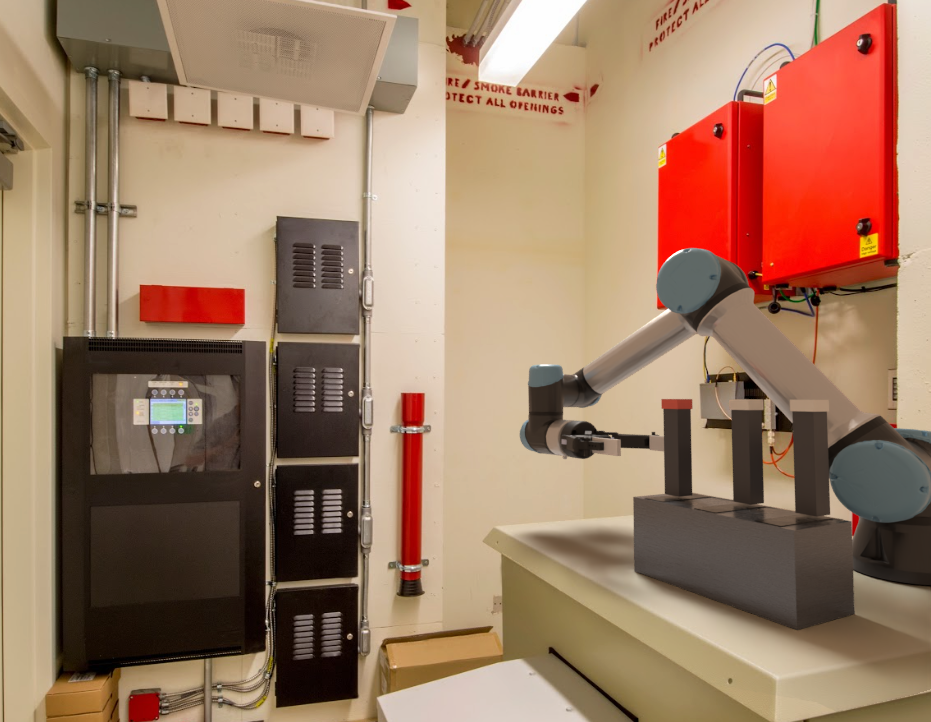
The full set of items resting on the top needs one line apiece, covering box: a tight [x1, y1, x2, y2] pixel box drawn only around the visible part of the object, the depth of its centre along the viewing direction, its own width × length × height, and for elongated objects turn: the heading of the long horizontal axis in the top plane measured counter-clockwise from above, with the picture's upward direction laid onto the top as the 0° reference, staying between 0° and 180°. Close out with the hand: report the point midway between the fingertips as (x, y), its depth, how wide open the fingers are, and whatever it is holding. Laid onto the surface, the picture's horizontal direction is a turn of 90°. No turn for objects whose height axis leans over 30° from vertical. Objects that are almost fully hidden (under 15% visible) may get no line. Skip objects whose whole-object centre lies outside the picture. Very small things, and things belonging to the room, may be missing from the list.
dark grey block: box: [632, 492, 856, 631], centre depth 89 cm, size 28×12×12 cm, turn 28°
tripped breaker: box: [660, 398, 693, 497], centre depth 99 cm, size 3×3×16 cm
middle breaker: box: [728, 398, 765, 505], centre depth 92 cm, size 3×3×16 cm
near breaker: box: [790, 400, 831, 517], centre depth 83 cm, size 3×3×16 cm
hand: (649, 446), depth 104 cm, fingers open, 13 cm apart
